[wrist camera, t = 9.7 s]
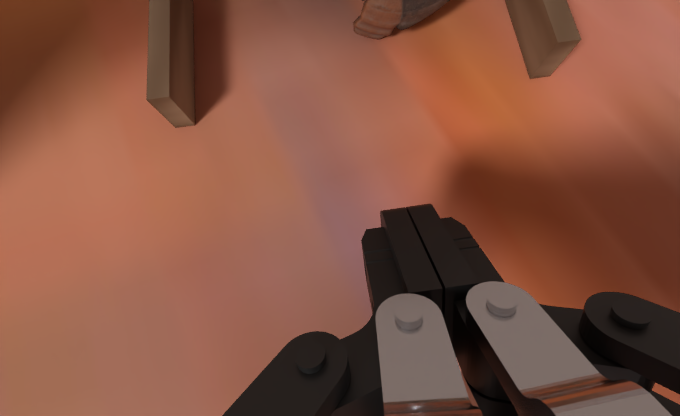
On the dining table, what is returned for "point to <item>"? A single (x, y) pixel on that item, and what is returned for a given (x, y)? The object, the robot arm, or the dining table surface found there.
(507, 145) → the dining table surface
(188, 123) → the wooden corral
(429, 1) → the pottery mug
